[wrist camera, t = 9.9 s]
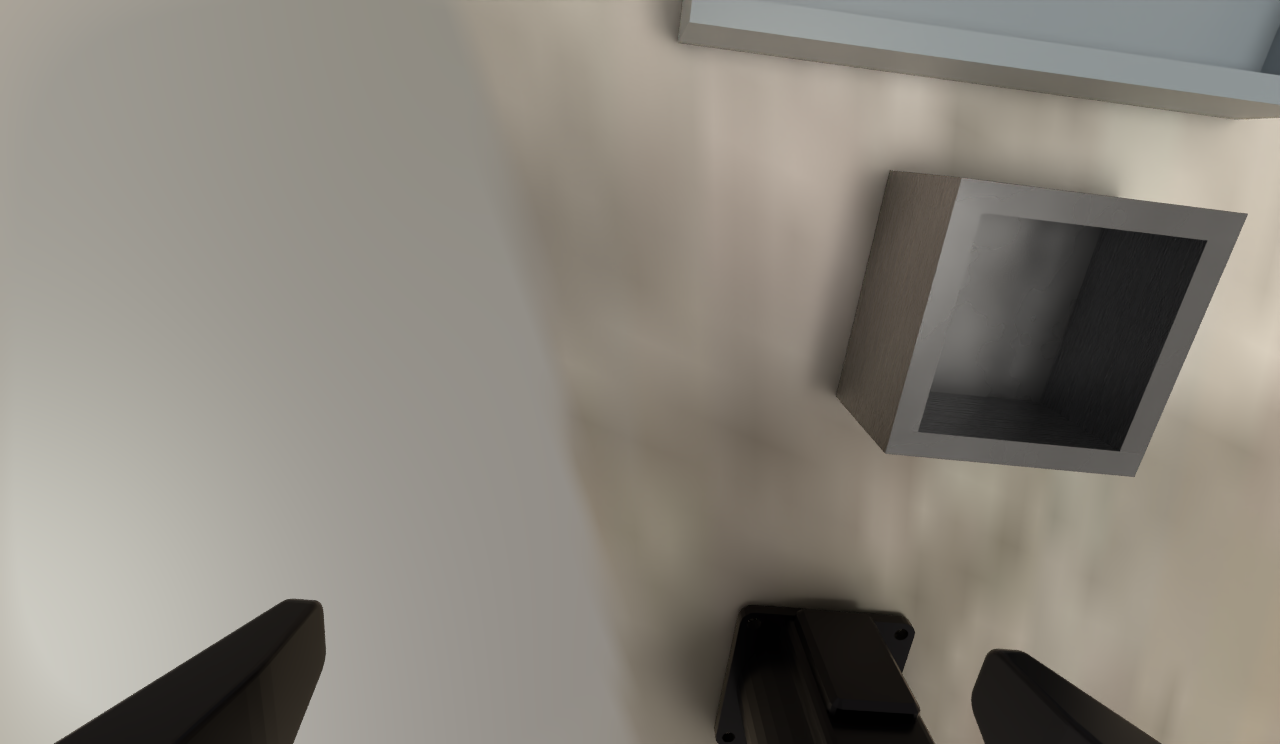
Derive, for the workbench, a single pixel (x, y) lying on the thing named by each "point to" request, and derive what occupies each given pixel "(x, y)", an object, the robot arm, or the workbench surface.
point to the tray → (1028, 45)
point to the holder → (1027, 321)
